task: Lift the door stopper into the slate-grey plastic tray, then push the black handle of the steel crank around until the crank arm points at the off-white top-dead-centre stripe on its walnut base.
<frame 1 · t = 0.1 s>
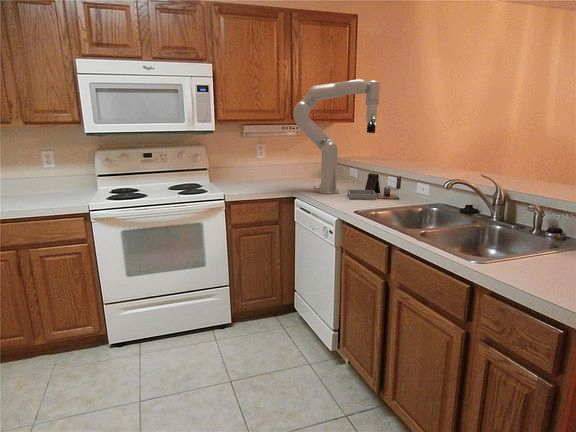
hand: (370, 132, 233), 37 cm above the table, tool pointing down, fingers open, 9 cm apart
crank: (392, 185, 224), point 7 cm above the table, hinge at -30.0°
crank base: (386, 197, 227), on the table
door stopper: (372, 193, 242), on the table
tray: (361, 197, 228), on the table
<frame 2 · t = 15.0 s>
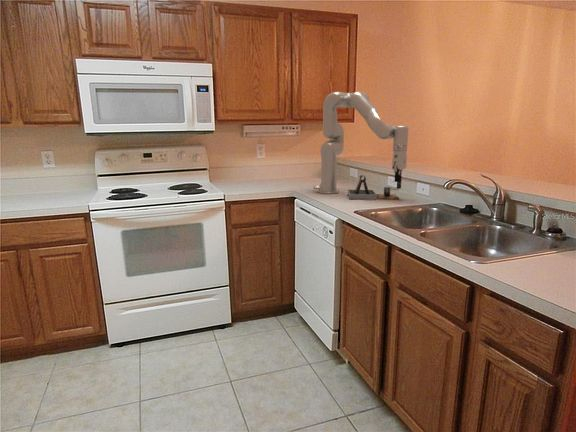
hand: (397, 181, 219), 10 cm above the table, tool pointing down, fingers closed
crank: (392, 185, 224), point 7 cm above the table, hinge at -21.4°, touching gripper
door stopper: (361, 196, 228), resting on tray
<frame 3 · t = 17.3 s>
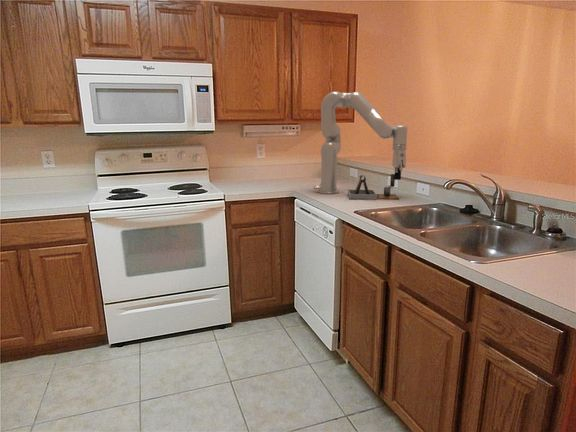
hand: (397, 179, 227), 10 cm above the table, tool pointing down, fingers closed
crank: (389, 184, 228), point 7 cm above the table, hinge at 55.3°, touching gripper
everything else where it was.
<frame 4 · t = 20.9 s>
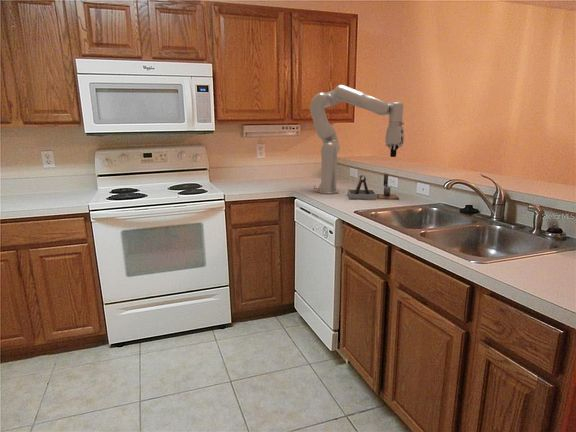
hand: (393, 156, 227), 23 cm above the table, tool pointing down, fingers closed
crank: (386, 184, 228), point 7 cm above the table, hinge at 90.5°
everything else where it was.
at the end: door stopper 0.3 cm off-centre on the tray, point 0.4 cm above the tray's base; door stopper tilted 0°; crank at +90° (first picture: -30°) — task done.
